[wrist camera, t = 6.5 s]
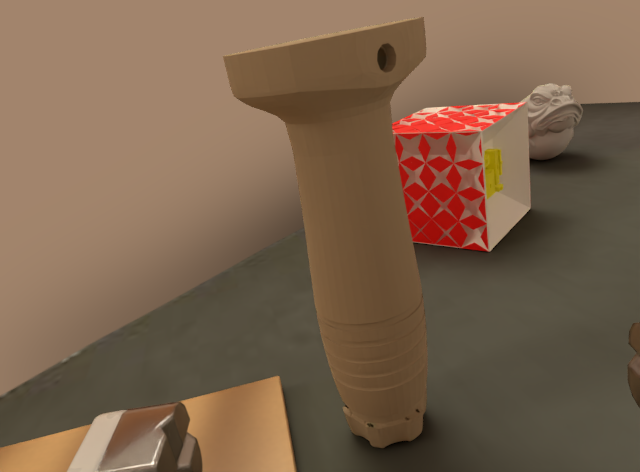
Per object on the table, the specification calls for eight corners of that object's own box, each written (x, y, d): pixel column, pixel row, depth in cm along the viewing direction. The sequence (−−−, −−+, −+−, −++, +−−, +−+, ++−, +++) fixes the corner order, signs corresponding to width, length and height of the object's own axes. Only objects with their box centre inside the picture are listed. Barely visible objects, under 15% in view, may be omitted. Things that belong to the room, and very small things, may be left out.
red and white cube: (489, 252, 34) (481, 131, 31) (385, 239, 39) (370, 133, 36) (531, 207, 40) (527, 101, 37) (435, 201, 44) (426, 107, 42)
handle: (292, 440, 22) (195, 60, 16) (397, 362, 25) (347, 29, 20) (377, 507, 18) (290, 45, 12) (485, 404, 21) (455, 11, 16)
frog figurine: (538, 174, 46) (536, 93, 44) (495, 159, 53) (491, 88, 50) (599, 159, 47) (600, 79, 44) (550, 146, 53) (549, 75, 51)
